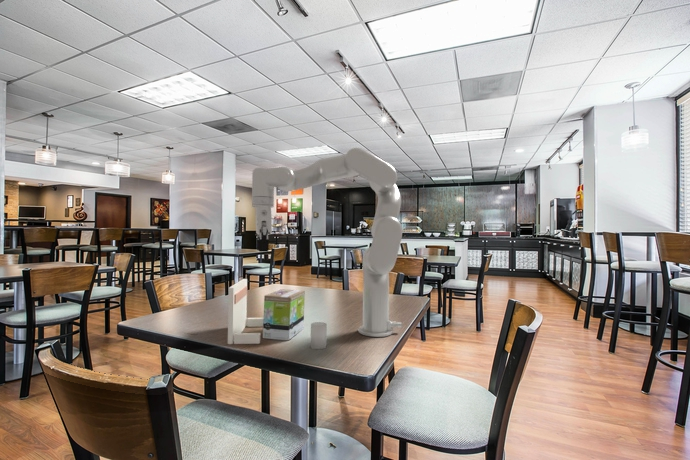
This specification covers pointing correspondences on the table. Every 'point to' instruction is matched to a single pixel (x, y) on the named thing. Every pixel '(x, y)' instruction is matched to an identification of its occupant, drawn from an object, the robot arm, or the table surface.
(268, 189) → the robot arm
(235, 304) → the display stand
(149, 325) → the table surface
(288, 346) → the table surface
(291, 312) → the tea box
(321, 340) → the white cylinder
